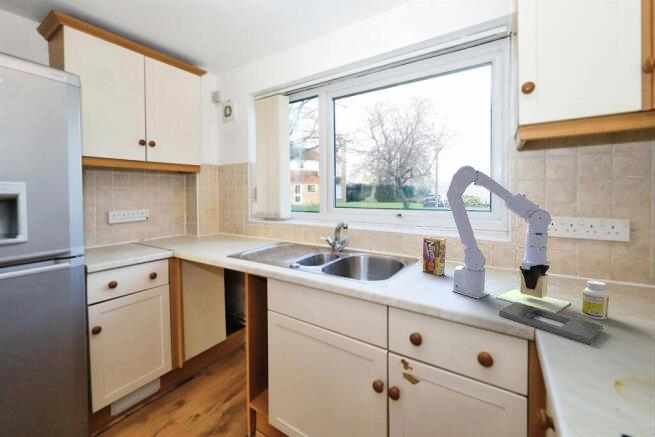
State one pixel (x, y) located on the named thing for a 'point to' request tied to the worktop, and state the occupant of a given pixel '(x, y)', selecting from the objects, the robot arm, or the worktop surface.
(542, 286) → the tan rectangular block
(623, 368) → the worktop surface
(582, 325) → the iron frame
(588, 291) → the supplement bottle
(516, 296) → the sage mat
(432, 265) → the candy box
